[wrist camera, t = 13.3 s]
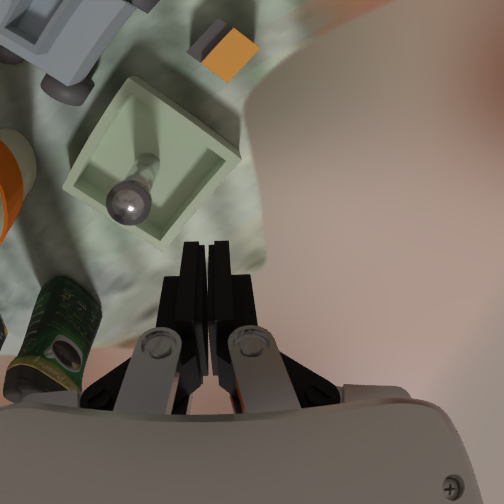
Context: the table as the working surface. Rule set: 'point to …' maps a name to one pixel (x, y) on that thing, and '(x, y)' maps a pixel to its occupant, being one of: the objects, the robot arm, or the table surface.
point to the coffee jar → (54, 342)
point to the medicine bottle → (2, 333)
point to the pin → (134, 192)
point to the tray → (164, 148)
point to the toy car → (62, 39)
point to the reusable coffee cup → (14, 176)
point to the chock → (223, 50)
